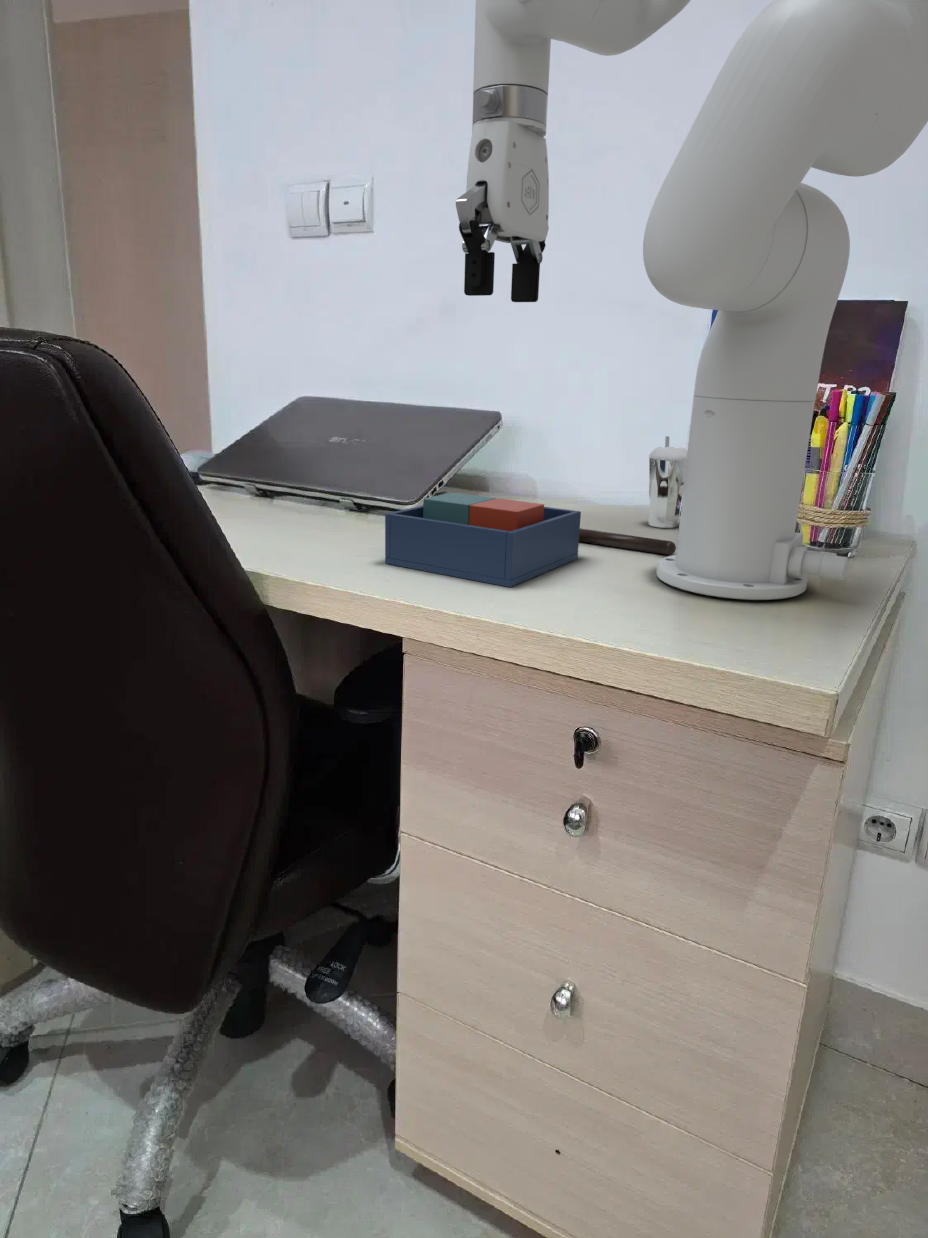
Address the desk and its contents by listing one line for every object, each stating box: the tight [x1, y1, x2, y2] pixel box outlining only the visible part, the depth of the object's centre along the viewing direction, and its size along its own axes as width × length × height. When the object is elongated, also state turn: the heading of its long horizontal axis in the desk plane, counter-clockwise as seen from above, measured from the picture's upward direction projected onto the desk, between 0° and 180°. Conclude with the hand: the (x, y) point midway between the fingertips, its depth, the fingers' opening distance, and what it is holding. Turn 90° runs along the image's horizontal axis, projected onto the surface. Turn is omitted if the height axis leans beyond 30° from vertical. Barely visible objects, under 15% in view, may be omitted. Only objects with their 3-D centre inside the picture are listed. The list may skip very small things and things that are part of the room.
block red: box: [469, 497, 545, 531], centre depth 76 cm, size 5×5×5 cm
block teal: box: [422, 492, 498, 525], centre depth 78 cm, size 5×5×5 cm
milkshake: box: [648, 436, 688, 529], centre depth 96 cm, size 4×5×10 cm
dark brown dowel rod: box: [579, 527, 677, 556], centre depth 89 cm, size 28×4×1 cm, turn 57°
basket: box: [384, 505, 582, 588], centre depth 77 cm, size 13×13×5 cm
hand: (502, 298), depth 89 cm, fingers open, 9 cm apart
